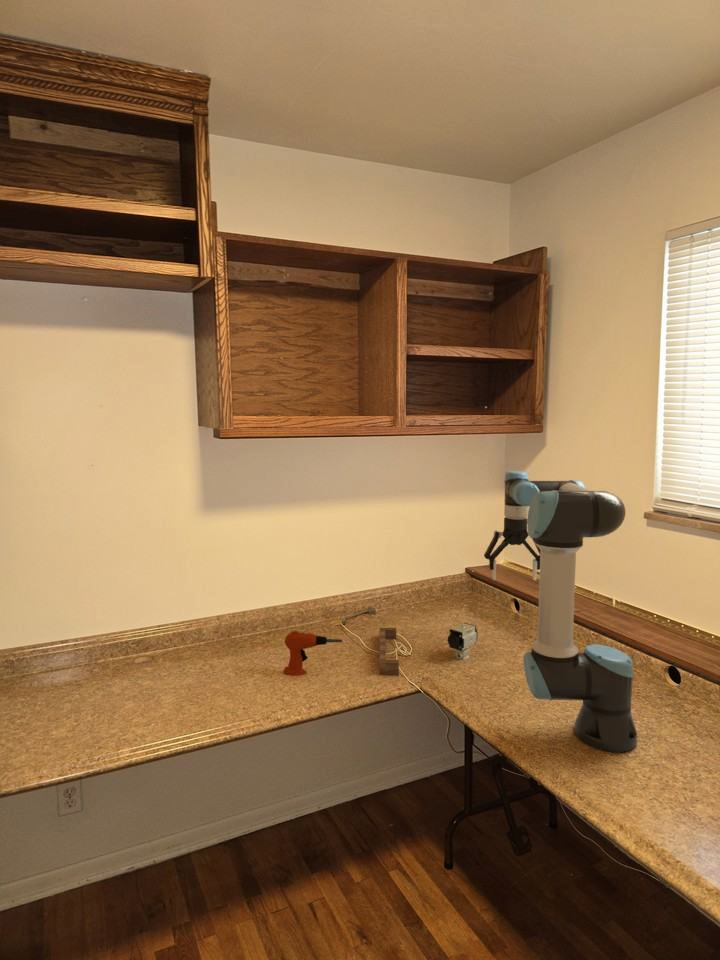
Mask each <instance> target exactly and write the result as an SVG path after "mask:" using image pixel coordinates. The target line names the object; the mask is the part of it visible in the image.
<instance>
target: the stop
mask: <svg viewBox="0 0 720 960" xmlns="http://www.w3.org/2000/svg"><path fill="white" fill-rule="evenodd" d="M386 640H397V627H379V676H393V677H396V676H398V677H399V676H400V674H399V671H400V670H399V668H400V666H399V665H400V661H399V659H387V651H386V650H387V648H386V645H387V643H386Z"/></svg>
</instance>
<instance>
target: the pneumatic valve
mask: <svg viewBox="0 0 720 960" xmlns="http://www.w3.org/2000/svg"><path fill="white" fill-rule="evenodd" d="M478 633H479V632H478V629H477V625H474V624H472V623H468V622H463V623H461V624H458V625H457V626H454V627H452V628H450V629H449V635H448V636H447V642H448V645H449V646H448V647H449V648H450V649H454V650H455V658H456V659H457V660H462V661H465V660H467V659H469V658H470V650H471V649H470V647H471V646H473V645H475V644H476V643H477V642H478Z"/></svg>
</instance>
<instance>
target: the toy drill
mask: <svg viewBox="0 0 720 960" xmlns="http://www.w3.org/2000/svg"><path fill="white" fill-rule="evenodd" d="M327 643H343V639H340V638H337V639H336V638H328V637H326V636H323V635H322V636H321V635H317V634H313V633H310V632H308V633H306V632H299V631H298V630H293V631H292V630H291V632H290V633H288V634H287V635H286V636H285V639H284V644H285V646H286V647H287V649H288V650H289V661H288V665H287V666H286V667H284V669H283V674H284V675H286V676H291V677H293V676H294V677H300V676H305V675H307V673H308V672H307V670H305V669H304V668H303V662H304V661H306V660H308V658H309V656H307V655H306V651H305V649H309V648H313V647H317V646H321V645H326V644H327Z"/></svg>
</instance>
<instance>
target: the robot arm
mask: <svg viewBox="0 0 720 960" xmlns="http://www.w3.org/2000/svg"><path fill="white" fill-rule="evenodd" d="M504 476H505V477H504V511H503V512H504V513H503V515H504V519H503V520H504V521H503V531H497V530H494V532H493V537H492V539H491V541H490V543H489V545H488V547H487V549H486V551H485V552H484V555H483V556H484V558H485V559H486V560H488V561H489V567H488V568H489V569H490V570H491V571H492V572H491V578H492V580H493V581H496V580H497V560H496V558H497V557H498V556H499V555H500V554H501V553H502V551H504V550H505V548H506V547H508V546H509V545H511V546H515V545H516V546H521V545H522V544H523V546H524V547H525V548H526V549H527V550H528V551H529V553H530V554H531V555H532V556H533V559H532V572H531V573H532V579H533V581H537V580H538V579H537V578H538V571H539V586H538V587H539V588H538V589H539V591H538V615H537V616H538V623H537V639H535V640H534V641H533V642H532V643H531V646H530V647H531V648H530V649H531V651H527V652H525V653H524V654H523V669H524V675H525V678H526V684H527V686H528V688H529V691H530V694H531V695H532V697H533V698H535V699H537V700H548V701H550V702H551V701H582V704H581V707H580V708H579V711H578V713H577V716H576V718H575V721H574V734H575V736H576V737H577V738H578V739H579V740H580V741H581V742H582V743H583V744H585V745H587V746H590V748H591V747H592V748H594V749H597V750H601V751H605V752H611V753H623V752H627V751H631V750H633V749H634V748H635V747H636V746H637V745H638V731H637V728H636V725H635V722H634V718H633V715H632V700H633V699H632V697H633V680H634V671H633V670H634V664H633V660H632V658H631V657H630V655H628V654H627V653H625V652H623V651H622V650H619V649H618V648H614V647H611V646H608V645H604V644H596V643H594V644H592V643H591V644H589V645H586V646H585V647H584V649H583V652H579V648H578V647H577V645H576V644H574V641H573V639H574V619H575V618H574V616H575V615H574V613H575V589H576V561H577V553H578V551H579V550H580V549H581V548H583V546H584V538H599V537H605V536H608V535H610V534H611V533H614V532H615V531H617V529H619V528H620V527H621V525H623V523H624V521H625V519H626V507H625V504H624V503H623V500H622V499H621V498H620V497H619V496H618V495H616V494H614V493H611V492H608V491H605V490H592V489H589V488H588V487H585V484H584V483H583V482H582V481H581V480H572V479H571V480H570V479H569V480H530V479H529V473H528V472H527V471H524V470H522V471H521V470H509V471H507V472H506V473H505V475H504ZM528 507H529V508H528ZM502 537H503V540H502V541H501V543H499V545H498V546H497V547H496V545H497V543H498V541H499V539H501V538H502ZM528 537H529V538H530V539H532V542H533V543H534V545H535V548H536V549H537V552H538V553H537V552H536V551H535V550H534V549H533V548H532V546H530V544H529V543H528V542H527V541H526V539H528ZM495 547H496V549H495ZM534 558H535V559H534Z"/></svg>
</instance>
